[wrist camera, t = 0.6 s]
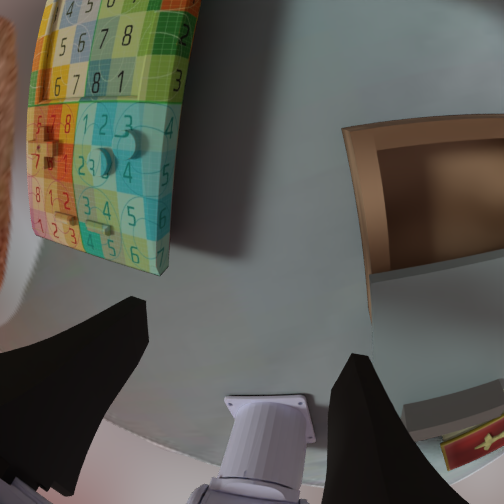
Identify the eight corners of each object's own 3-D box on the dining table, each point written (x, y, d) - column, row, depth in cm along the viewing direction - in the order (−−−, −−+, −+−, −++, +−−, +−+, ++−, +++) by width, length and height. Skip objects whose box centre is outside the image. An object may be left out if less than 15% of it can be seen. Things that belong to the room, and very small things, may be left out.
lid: (509, 378, 15) (521, 407, 12) (371, 413, 18) (373, 448, 16) (550, 237, 10) (580, 262, 7) (368, 274, 14) (378, 314, 11)
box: (507, 277, 16) (531, 306, 12) (368, 306, 19) (375, 345, 16) (509, 113, 11) (545, 119, 8) (341, 128, 15) (349, 131, 11)
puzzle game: (27, 240, 18) (45, -23, 8) (65, 218, 22) (85, -11, 13) (152, 284, 17) (201, -68, 7) (183, 249, 21) (227, -34, 11)
